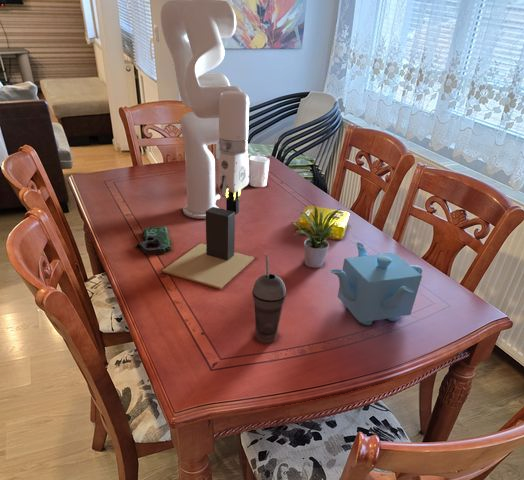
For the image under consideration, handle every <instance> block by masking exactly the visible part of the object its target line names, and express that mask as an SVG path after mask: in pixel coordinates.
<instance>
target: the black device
mask: <svg viewBox="0 0 524 480" xmlns="http://www.w3.org/2000/svg"><path fill="white" fill-rule="evenodd" d="M235 236H236V215H235V212H233V211H229V210H226V209H224V208H220V207H219V208H216V207H212V208H210V209H209V210H207V211H206V219H205V244H206V255H209V256H212V257H216V258H220V259H223V260H227V261H228V260H229V259H230V258H232V257H233V256H234V252H235Z"/></svg>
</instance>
